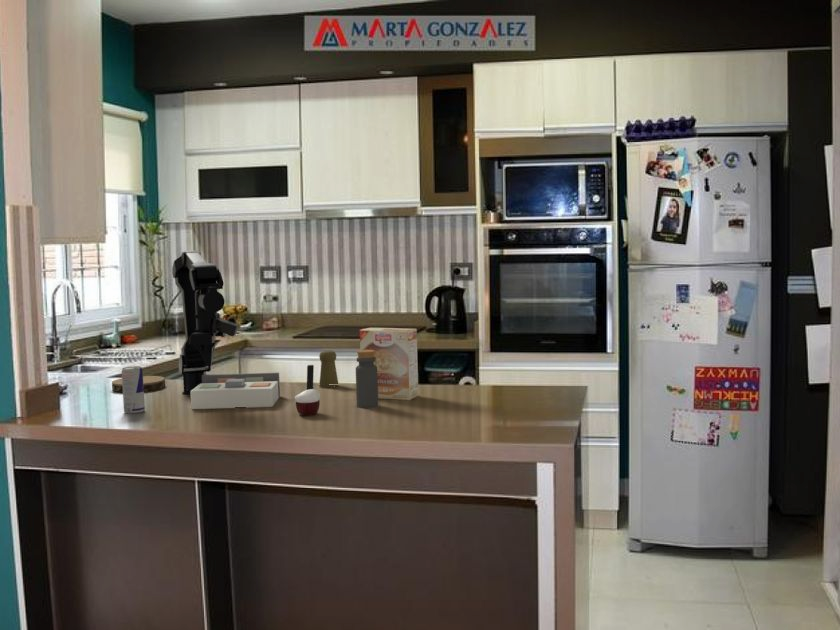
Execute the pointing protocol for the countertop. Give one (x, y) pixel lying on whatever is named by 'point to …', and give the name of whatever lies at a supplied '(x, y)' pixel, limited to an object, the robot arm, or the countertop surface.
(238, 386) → the slate key
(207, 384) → the sage key
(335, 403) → the countertop surface
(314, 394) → the rounded body with stick
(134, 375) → the energy drink
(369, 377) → the bottle
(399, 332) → the coffeecake box
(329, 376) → the cork
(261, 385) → the terracotta key
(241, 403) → the keypad housing
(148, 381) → the wood slice
